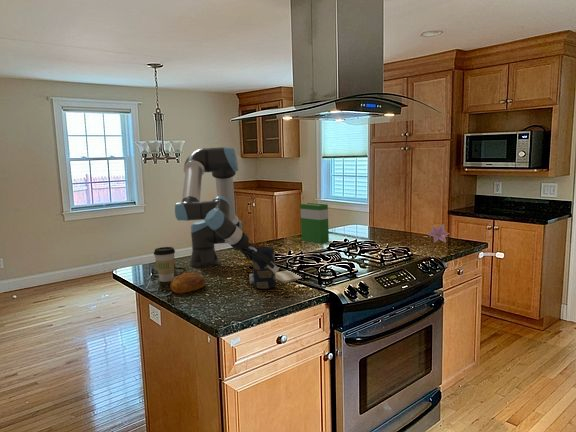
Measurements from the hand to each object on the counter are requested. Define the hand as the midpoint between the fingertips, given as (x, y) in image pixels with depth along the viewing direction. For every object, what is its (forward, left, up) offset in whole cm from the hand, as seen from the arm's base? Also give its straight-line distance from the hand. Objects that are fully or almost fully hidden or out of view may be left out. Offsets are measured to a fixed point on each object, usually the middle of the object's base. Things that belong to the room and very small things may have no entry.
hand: (270, 268), depth 194 cm
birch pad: (+13, +8, -7) cm, 17 cm away
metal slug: (-5, +8, -7) cm, 12 cm away
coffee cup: (-36, +38, -8) cm, 53 cm away
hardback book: (+68, +73, -8) cm, 100 cm away
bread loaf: (-32, +18, -8) cm, 37 cm away
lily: (+126, +23, -8) cm, 128 cm away
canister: (-3, 0, -8) cm, 8 cm away
